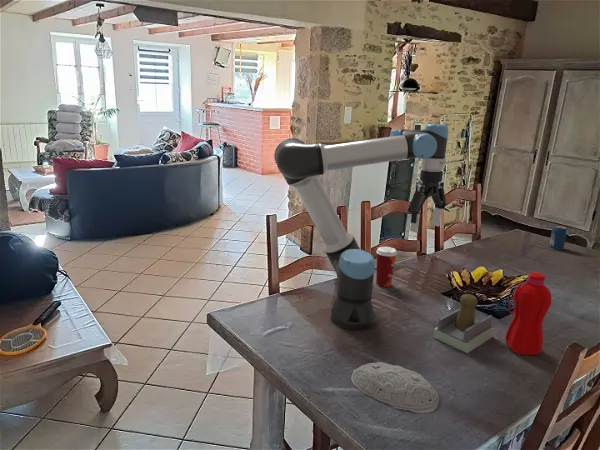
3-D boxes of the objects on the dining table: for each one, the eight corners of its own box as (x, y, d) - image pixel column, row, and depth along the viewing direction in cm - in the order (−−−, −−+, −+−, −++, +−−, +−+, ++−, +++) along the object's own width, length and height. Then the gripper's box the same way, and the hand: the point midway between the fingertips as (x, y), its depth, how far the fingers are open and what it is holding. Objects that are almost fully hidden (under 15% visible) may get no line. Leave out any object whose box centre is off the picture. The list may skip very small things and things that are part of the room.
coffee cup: (395, 288, 181) (399, 253, 177) (374, 287, 181) (378, 252, 177) (391, 280, 189) (395, 246, 185) (372, 279, 190) (375, 245, 185)
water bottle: (496, 339, 145) (509, 267, 138) (530, 341, 145) (545, 268, 138) (507, 355, 137) (522, 278, 130) (544, 357, 136) (561, 280, 129)
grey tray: (467, 353, 137) (470, 332, 135) (433, 337, 146) (435, 317, 144) (492, 336, 147) (496, 317, 145) (459, 322, 156) (462, 304, 154)
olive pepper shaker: (475, 325, 147) (480, 294, 144) (473, 333, 142) (478, 301, 138) (455, 321, 149) (460, 290, 146) (453, 329, 144) (458, 297, 141)
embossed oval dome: (435, 421, 107) (437, 395, 106) (338, 391, 119) (339, 367, 118) (447, 392, 121) (450, 368, 120) (359, 368, 132) (360, 346, 131)
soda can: (564, 248, 240) (569, 227, 237) (561, 251, 235) (565, 229, 232) (550, 245, 245) (555, 224, 241) (546, 248, 240) (551, 226, 236)
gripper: (420, 174, 146) (413, 237, 152) (460, 168, 162) (452, 225, 168) (401, 171, 151) (395, 231, 157) (442, 165, 167) (435, 220, 173)
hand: (425, 228), depth 163 cm, fingers open, 13 cm apart
